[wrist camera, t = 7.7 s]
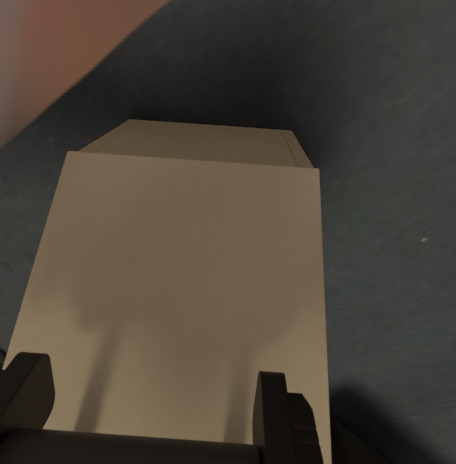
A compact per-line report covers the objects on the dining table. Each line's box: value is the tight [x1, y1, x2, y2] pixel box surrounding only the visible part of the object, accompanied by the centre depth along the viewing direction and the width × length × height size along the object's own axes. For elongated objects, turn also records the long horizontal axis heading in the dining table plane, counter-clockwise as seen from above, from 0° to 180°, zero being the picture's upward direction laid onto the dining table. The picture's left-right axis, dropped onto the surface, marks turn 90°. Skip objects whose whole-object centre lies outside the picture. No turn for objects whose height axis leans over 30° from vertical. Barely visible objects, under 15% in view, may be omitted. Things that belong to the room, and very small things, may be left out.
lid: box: [0, 151, 332, 464], centre depth 13 cm, size 14×12×5 cm
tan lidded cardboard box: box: [78, 119, 314, 168], centre depth 26 cm, size 14×12×10 cm
